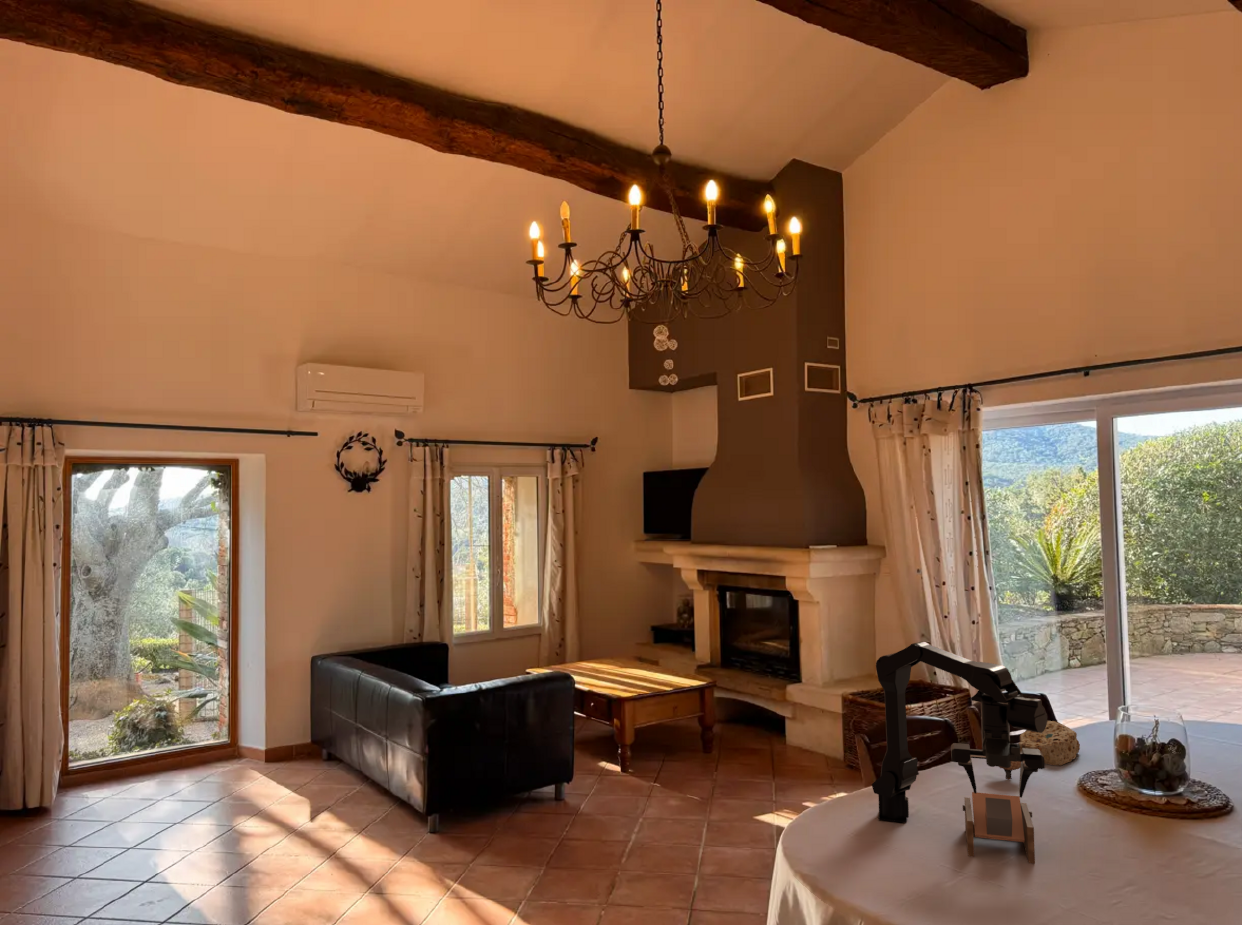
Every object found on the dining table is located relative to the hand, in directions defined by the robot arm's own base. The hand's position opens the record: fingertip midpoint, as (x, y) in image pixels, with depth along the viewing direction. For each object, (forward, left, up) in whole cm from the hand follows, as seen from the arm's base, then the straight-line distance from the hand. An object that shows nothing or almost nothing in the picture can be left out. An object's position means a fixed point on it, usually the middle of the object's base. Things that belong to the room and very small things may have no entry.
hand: (997, 794), depth 191 cm
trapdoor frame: (0, +3, -12) cm, 12 cm away
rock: (+19, +78, -13) cm, 81 cm away
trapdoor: (0, +6, -10) cm, 11 cm away
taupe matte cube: (0, +1, -7) cm, 7 cm away
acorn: (+6, +51, -12) cm, 52 cm away
